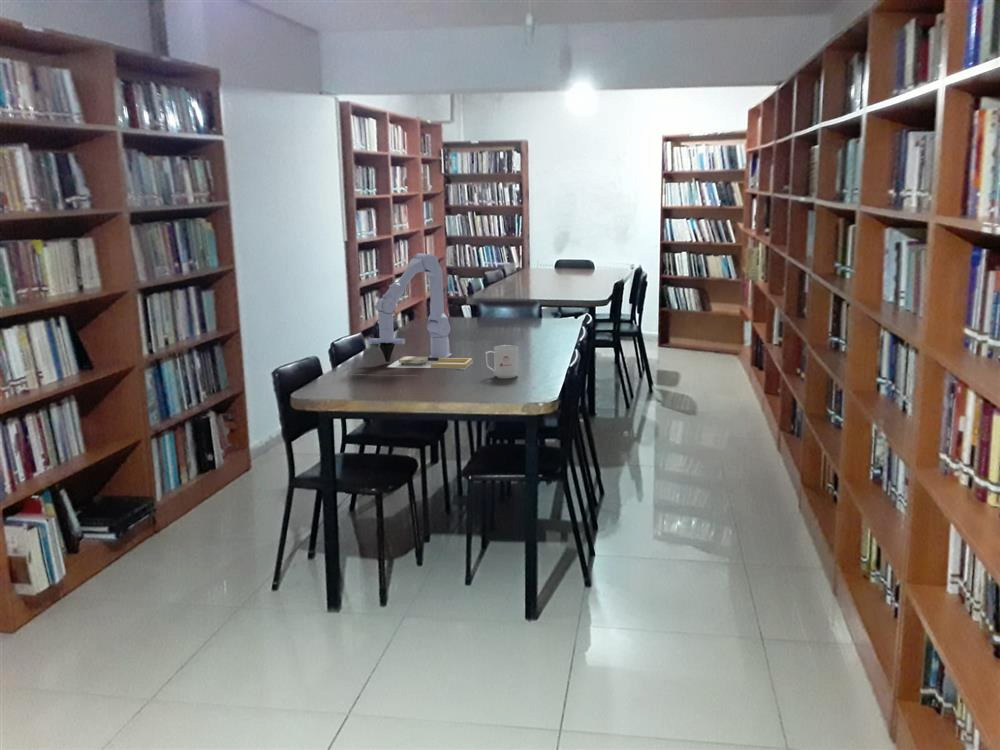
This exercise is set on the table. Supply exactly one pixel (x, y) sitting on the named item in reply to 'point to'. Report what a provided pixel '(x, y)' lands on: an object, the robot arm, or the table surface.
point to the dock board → (438, 363)
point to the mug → (505, 361)
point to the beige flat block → (413, 360)
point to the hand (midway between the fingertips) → (388, 361)
